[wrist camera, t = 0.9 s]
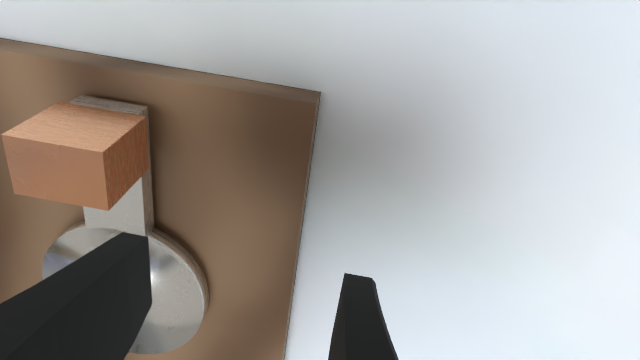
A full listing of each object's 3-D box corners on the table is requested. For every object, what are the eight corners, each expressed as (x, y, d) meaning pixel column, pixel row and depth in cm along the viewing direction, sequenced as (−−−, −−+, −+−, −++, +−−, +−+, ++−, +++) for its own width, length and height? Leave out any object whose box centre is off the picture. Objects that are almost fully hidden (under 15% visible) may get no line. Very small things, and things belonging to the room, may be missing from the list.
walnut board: (-4, 336, 26) (-85, 422, 22) (-97, 21, 18) (-260, 57, 13) (279, 391, 26) (256, 493, 21) (320, 92, 17) (296, 154, 13)
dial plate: (207, 352, 22) (178, 423, 19) (65, 325, 23) (13, 390, 20) (212, 117, 16) (171, 165, 13) (19, 84, 17) (-66, 122, 14)
